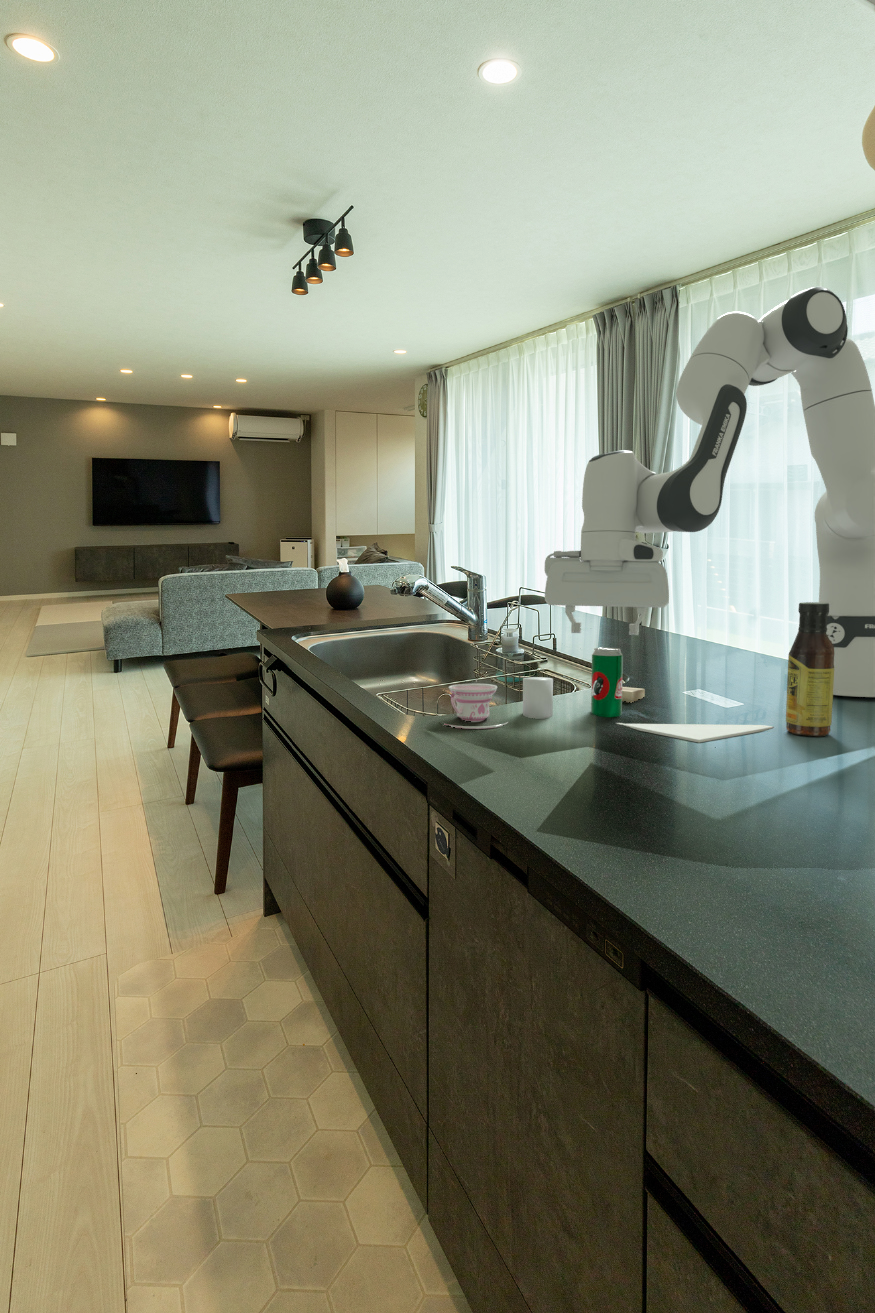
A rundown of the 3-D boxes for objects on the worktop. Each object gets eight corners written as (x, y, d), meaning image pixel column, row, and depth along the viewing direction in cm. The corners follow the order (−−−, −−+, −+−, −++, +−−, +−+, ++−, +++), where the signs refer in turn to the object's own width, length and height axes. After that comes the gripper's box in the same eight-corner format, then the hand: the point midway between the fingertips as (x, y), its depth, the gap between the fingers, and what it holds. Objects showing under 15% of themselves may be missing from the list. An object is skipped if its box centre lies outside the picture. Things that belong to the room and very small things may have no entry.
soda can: (622, 722, 122) (623, 650, 121) (590, 721, 123) (592, 649, 122) (620, 717, 127) (622, 647, 126) (590, 716, 128) (591, 647, 127)
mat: (679, 713, 130) (679, 711, 130) (773, 729, 115) (773, 726, 115) (606, 723, 121) (606, 721, 121) (699, 742, 106) (699, 739, 106)
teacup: (473, 715, 131) (473, 680, 130) (524, 724, 122) (525, 686, 121) (422, 723, 123) (422, 686, 122) (473, 733, 114) (473, 694, 113)
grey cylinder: (539, 716, 128) (539, 676, 127) (558, 720, 124) (559, 679, 123) (516, 719, 125) (516, 678, 125) (535, 723, 121) (536, 681, 120)
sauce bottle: (785, 728, 116) (790, 601, 114) (830, 731, 113) (836, 602, 112) (784, 736, 110) (789, 602, 108) (832, 739, 107) (838, 602, 106)
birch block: (619, 707, 138) (619, 686, 138) (644, 710, 135) (644, 688, 134) (606, 711, 134) (606, 689, 134) (631, 714, 131) (631, 691, 131)
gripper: (542, 549, 123) (539, 632, 124) (671, 549, 116) (667, 637, 118) (548, 551, 129) (545, 630, 130) (671, 551, 122) (667, 634, 124)
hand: (604, 634), depth 124 cm, fingers open, 8 cm apart
